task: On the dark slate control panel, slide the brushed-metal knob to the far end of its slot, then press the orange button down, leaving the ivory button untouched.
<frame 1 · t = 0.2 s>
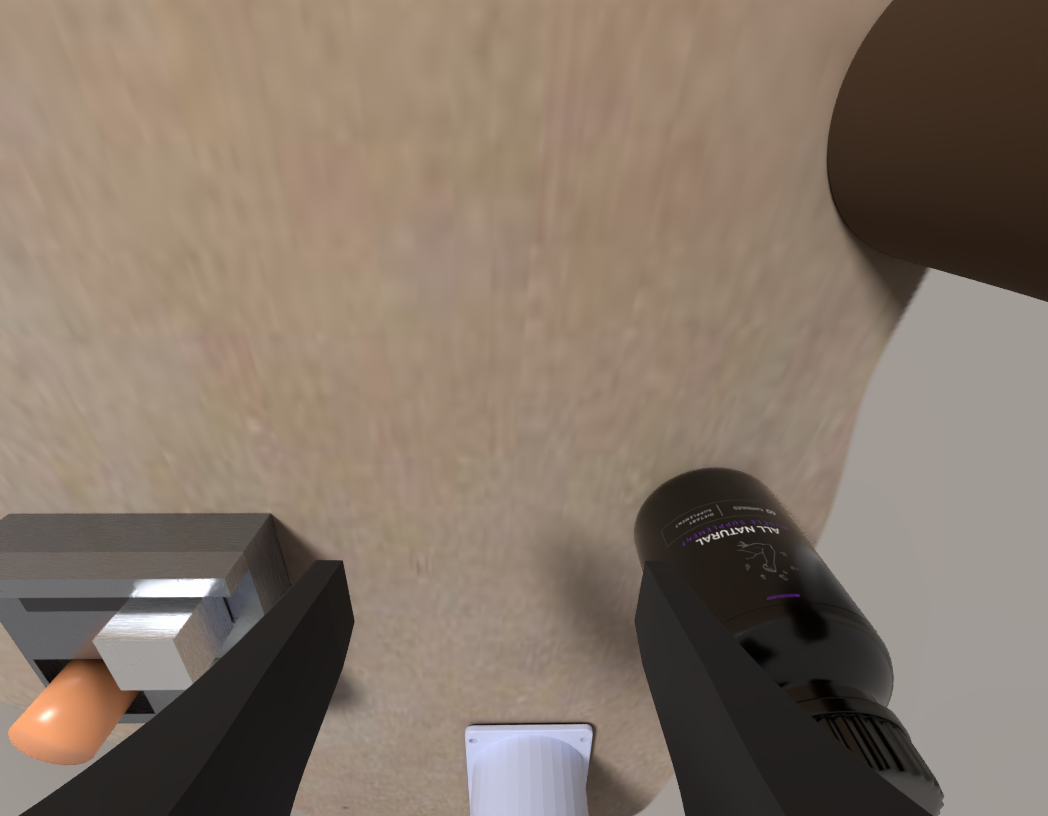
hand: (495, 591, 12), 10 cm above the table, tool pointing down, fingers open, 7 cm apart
supplement bottle: (698, 517, 24), on the table
panel: (179, 604, 25), on the table
orange button: (79, 709, 23), point 4 cm above the table, slide at 0.0 cm
olive oil: (966, 115, 16), on the table
ivory button: (226, 708, 23), point 4 cm above the table, slide at 0.0 cm
slider knob: (170, 633, 20), point 4 cm above the table, slide at 0.0 cm
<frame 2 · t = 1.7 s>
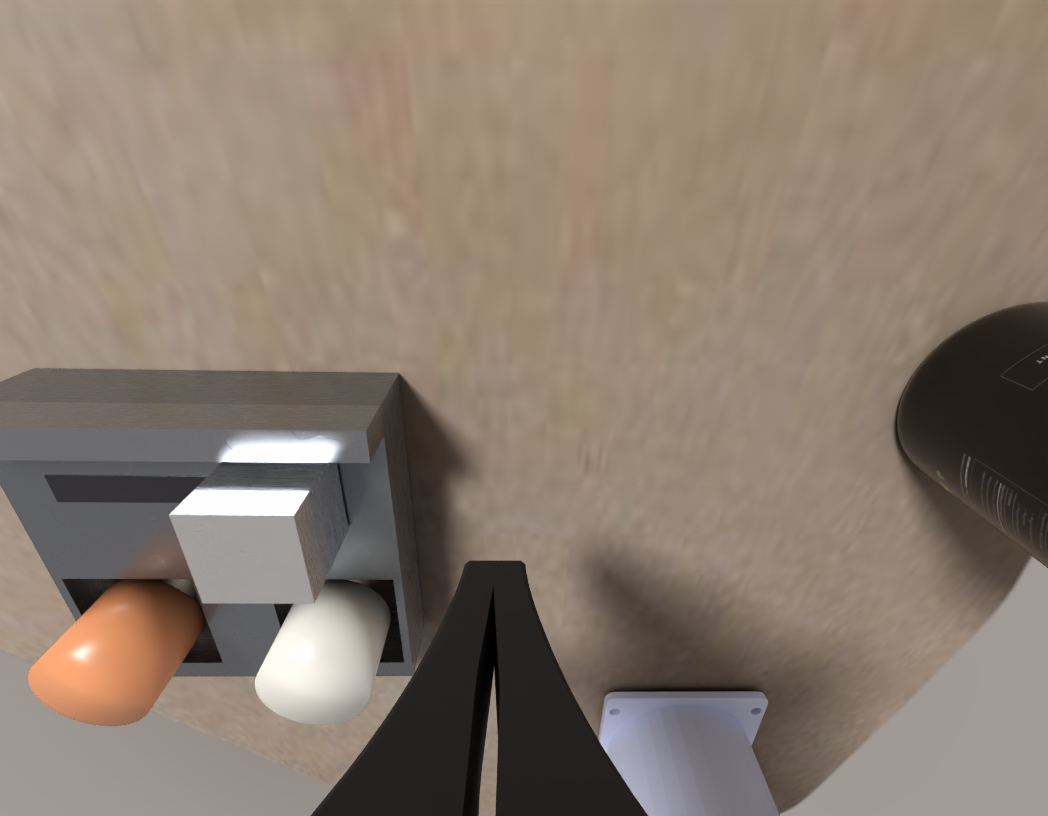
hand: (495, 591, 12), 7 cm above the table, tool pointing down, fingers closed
supplement bottle: (982, 391, 17), on the table
panel: (257, 514, 19), on the table
orange button: (125, 650, 17), point 4 cm above the table, slide at 0.0 cm
ivory button: (329, 649, 17), point 4 cm above the table, slide at 0.0 cm
slider knob: (272, 523, 14), point 4 cm above the table, slide at 0.0 cm
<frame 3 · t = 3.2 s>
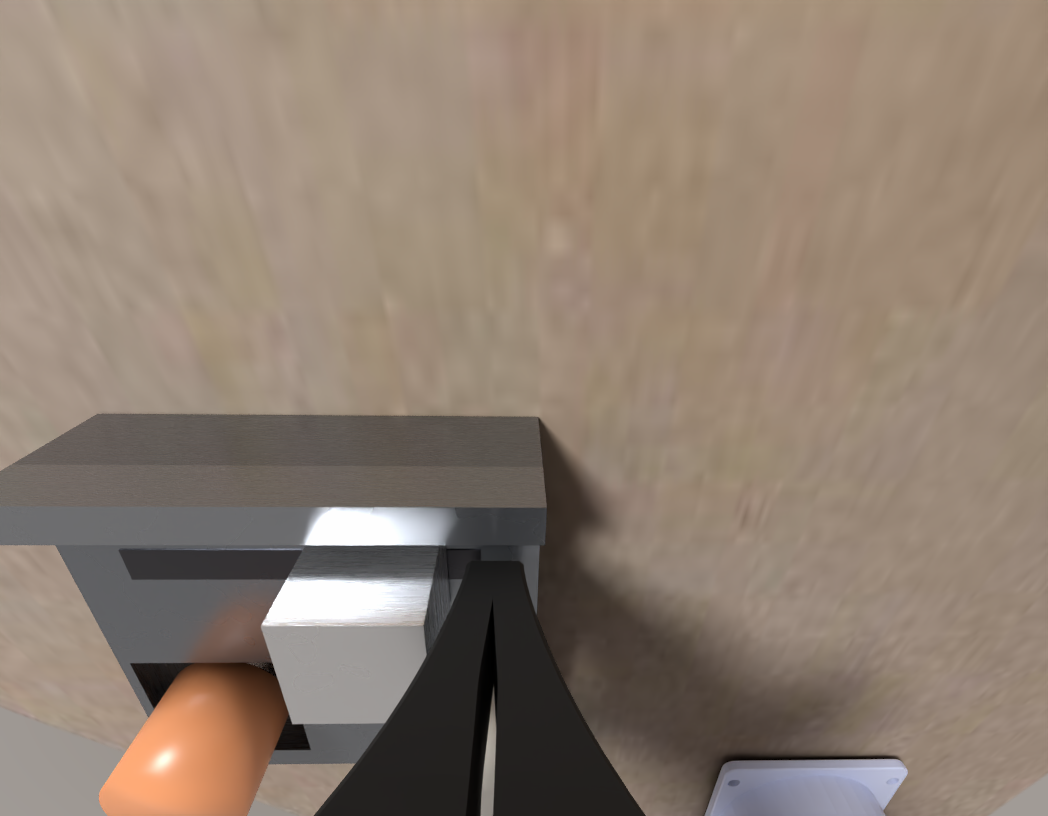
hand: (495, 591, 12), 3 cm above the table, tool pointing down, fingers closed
panel: (351, 576, 16), on the table
orange button: (206, 747, 14), point 4 cm above the table, slide at 0.0 cm
ivory button: (449, 745, 14), point 4 cm above the table, slide at 0.0 cm
slider knob: (373, 615, 11), point 4 cm above the table, slide at 0.9 cm, touching gripper
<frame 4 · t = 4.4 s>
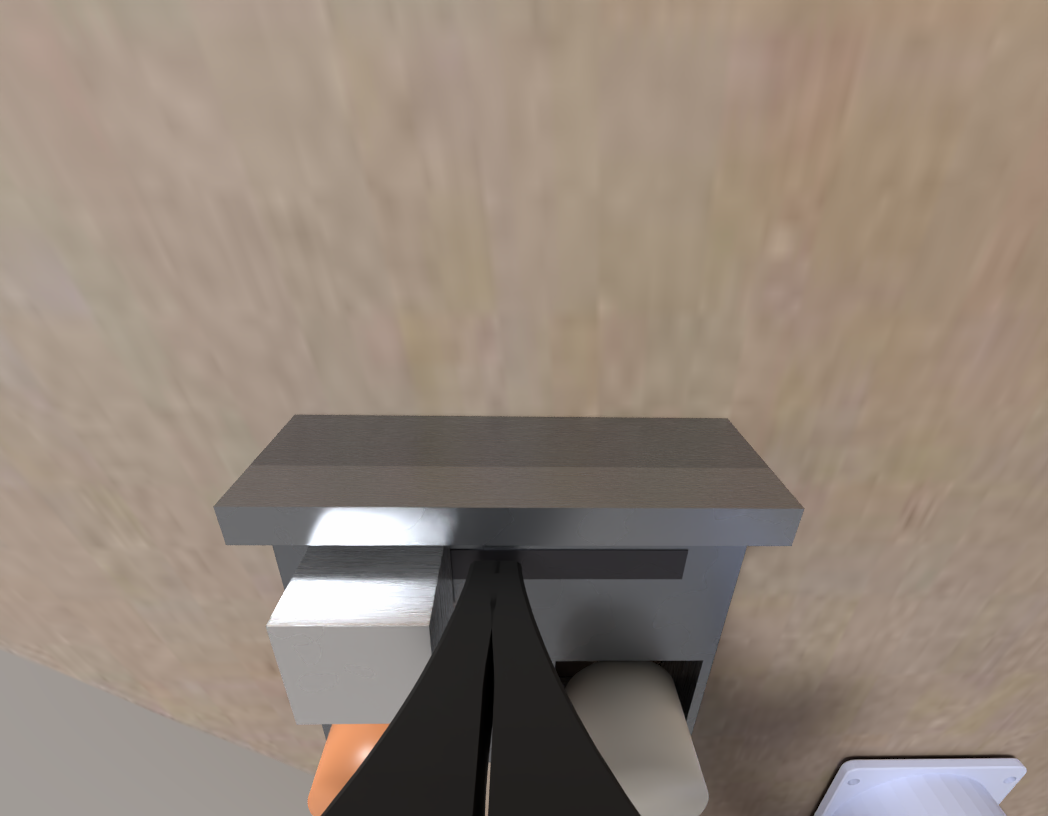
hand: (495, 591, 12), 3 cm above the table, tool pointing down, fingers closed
panel: (511, 576, 16), on the table
orange button: (390, 746, 14), point 4 cm above the table, slide at 0.0 cm
ivory button: (628, 744, 14), point 4 cm above the table, slide at 0.0 cm
slider knob: (377, 615, 11), point 4 cm above the table, slide at 6.1 cm, touching gripper
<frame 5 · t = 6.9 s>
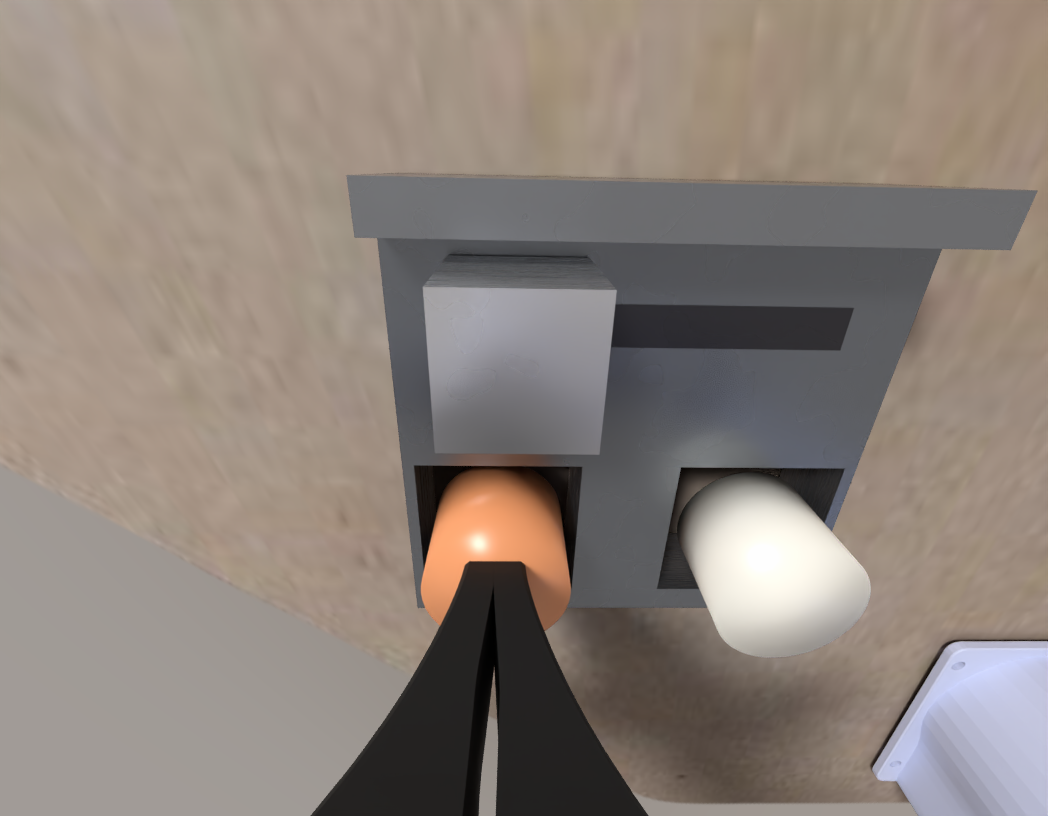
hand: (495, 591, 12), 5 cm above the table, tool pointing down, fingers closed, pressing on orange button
panel: (616, 398, 15), on the table
orange button: (498, 549, 13), point 3 cm above the table, slide at 0.4 cm, touching gripper
ivory button: (762, 560, 13), point 4 cm above the table, slide at 0.0 cm
slider knob: (518, 348, 9), point 4 cm above the table, slide at 6.1 cm
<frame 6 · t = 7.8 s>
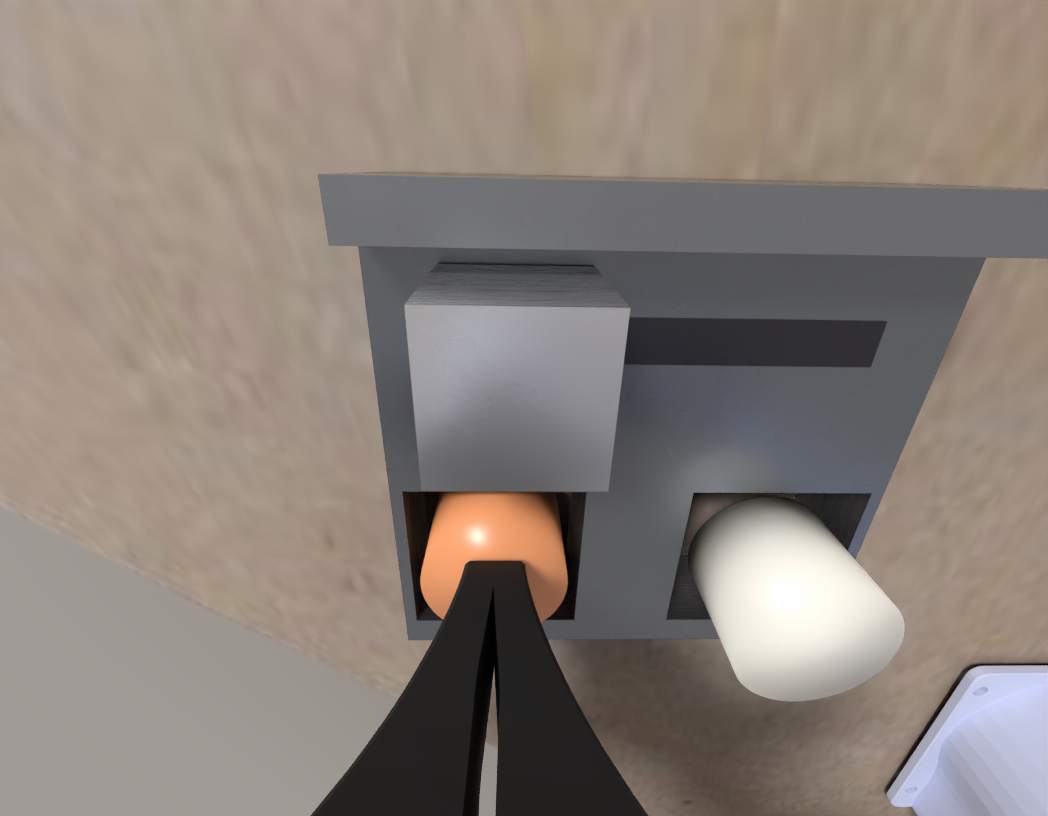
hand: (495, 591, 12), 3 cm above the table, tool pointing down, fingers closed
panel: (622, 415, 13), on the table
orange button: (496, 541, 13), point 2 cm above the table, slide at 1.8 cm
ivory button: (782, 594, 12), point 4 cm above the table, slide at 0.0 cm
slider knob: (515, 369, 8), point 4 cm above the table, slide at 6.1 cm
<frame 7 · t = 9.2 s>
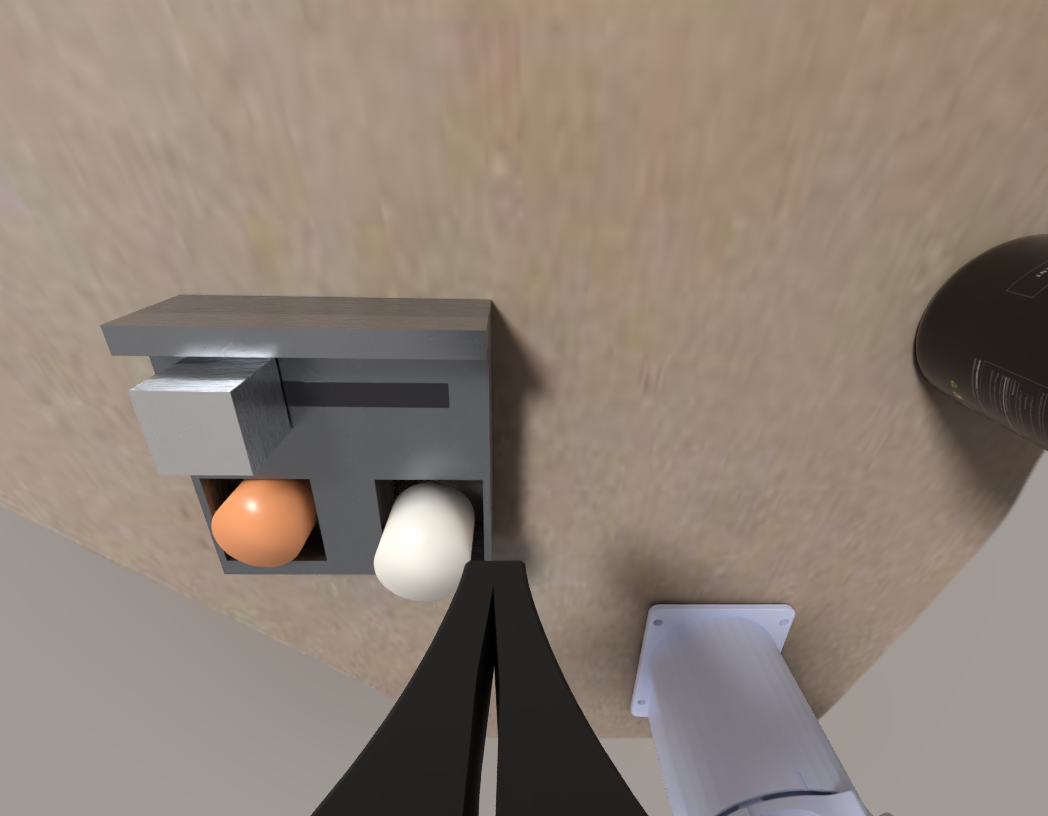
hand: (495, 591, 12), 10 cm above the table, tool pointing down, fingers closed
supplement bottle: (988, 318, 20), on the table
panel: (357, 431, 21), on the table
orange button: (273, 511, 21), point 2 cm above the table, slide at 1.8 cm
ivory button: (428, 540, 20), point 4 cm above the table, slide at 0.0 cm
slider knob: (219, 413, 16), point 4 cm above the table, slide at 6.1 cm
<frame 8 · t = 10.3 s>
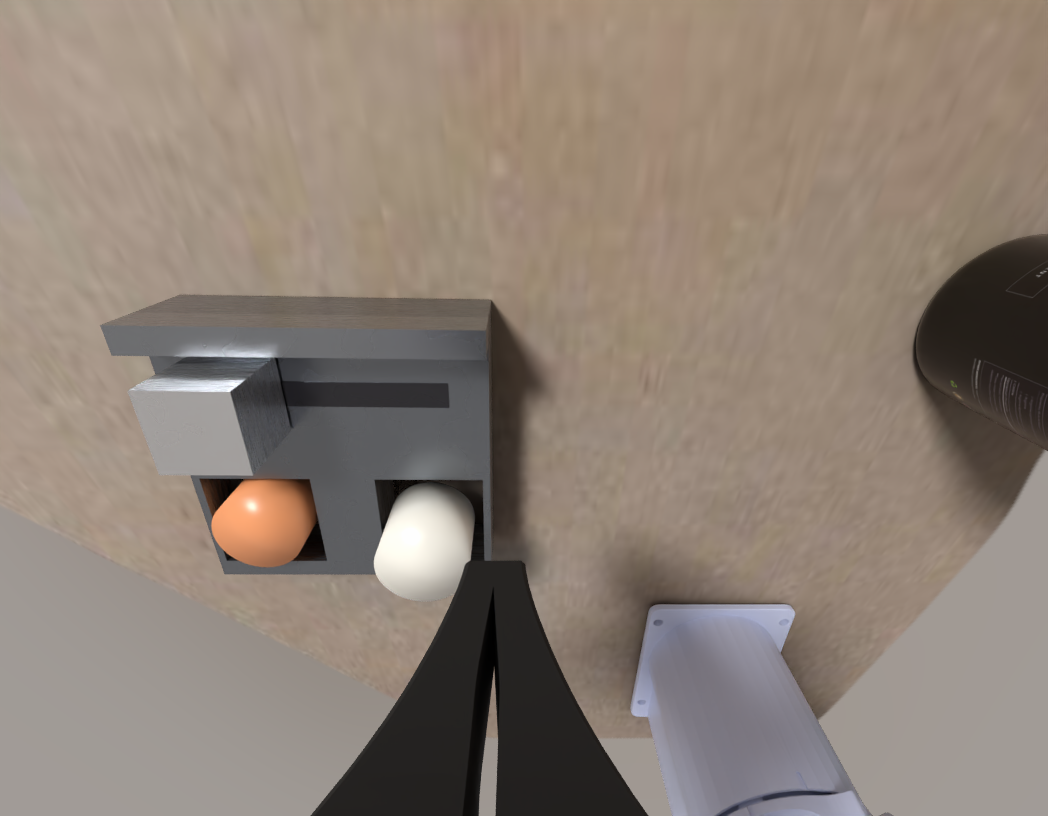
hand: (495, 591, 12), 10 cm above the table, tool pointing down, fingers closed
supplement bottle: (988, 318, 20), on the table
panel: (357, 431, 21), on the table
orange button: (273, 511, 21), point 2 cm above the table, slide at 1.8 cm
ivory button: (428, 540, 20), point 4 cm above the table, slide at 0.0 cm
slider knob: (219, 413, 16), point 4 cm above the table, slide at 6.1 cm
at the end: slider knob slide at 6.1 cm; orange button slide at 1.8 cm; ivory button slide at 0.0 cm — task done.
